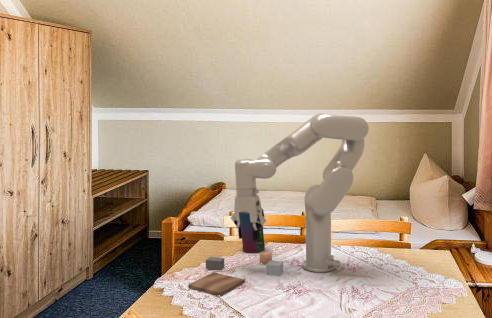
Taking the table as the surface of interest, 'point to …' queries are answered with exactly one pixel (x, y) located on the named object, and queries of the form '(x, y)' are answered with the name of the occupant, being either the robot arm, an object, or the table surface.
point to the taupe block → (214, 263)
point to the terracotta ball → (265, 257)
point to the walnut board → (216, 283)
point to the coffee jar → (260, 241)
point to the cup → (247, 233)
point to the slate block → (274, 268)
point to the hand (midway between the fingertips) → (249, 238)
